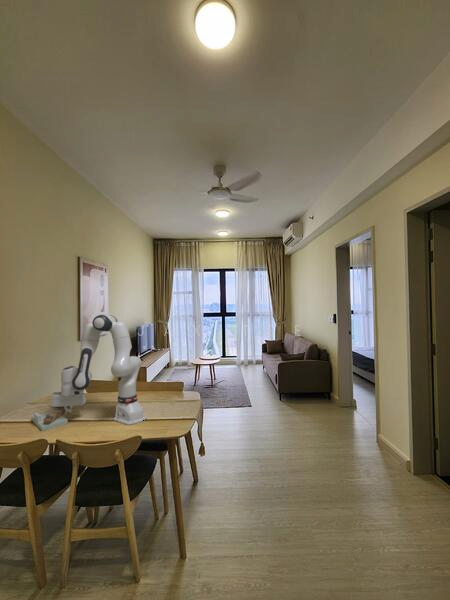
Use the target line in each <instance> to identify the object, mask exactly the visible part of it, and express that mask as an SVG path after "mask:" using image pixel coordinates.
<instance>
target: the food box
mask: <svg viewBox="0 0 450 600" xmlns="http://www.w3.org/2000/svg"><path fill="white" fill-rule="evenodd" d="M56 410H57V409H55V410H51V411H47V412H44V413H38V412H35V413H34V414H33V415H32V416H31V421H32V422H33V423H34V424H35V425H36V426H37V428H38V429H39V430H40V431H41V432H44V431H49V430H51V429H54V428H58V427H62V426H65V425H68V424H69V423H68V421H69V420H68V418H66V417H64V416H63V415H62V416H60V417H59V418H57V419H56V420H55V421H53V422H52V423H50V424H44V418H45V417H46V416H47V415H50V414H51V413H53V412H54V411H56Z"/></svg>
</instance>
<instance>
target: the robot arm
mask: <svg viewBox="0 0 450 600" xmlns="http://www.w3.org/2000/svg"><path fill="white" fill-rule="evenodd" d="M103 332H109V333H110V334H111V338H112V343H113V344H112V345H113V349H114V358H113V362H112V365H111V367H110V372H111V374H112V375H113V376H114V377H116V378H120V381H119V383H118V385H117V386H118V395H117V405H116V406H115V416H114V418H113V421H114V422H115V421H116V422H118V423H121V424H124V425H128V426H129V425H136V424H139V423H142V422H144V421H146V420H147V419H148V417H147V415H145V414H144V406H141V404H140V403H139V401H138V399H139V397H138V395H137V378H138V375H139V371H140V369H141V367H142V366H143V365H142V359H141V358H140V357H139V356H134V355H131V356H130V354H131V350H132V348H133V346H132V341H131V336H130V332H129V329H128V326H127V324H126V322H123V321H118V318H116V317H115V316H113V315H111V314H110V315H109V314H99V315H96V316H95V317H94V318H93V319H92V322H88V323H87V324H86V325H85V326H84V329H83V330H82V334H81V340H80V356H79V363H78V367H76V366H74V365H71V366H67V367H64V368H63V369H62V370H61V375H60V383H61V386H60V391H57V392H56V391H55V392H53V393H51V396H50V398H51V402H50V405H51V408H54V407H63V406H64V409H65V414H69V413H70V414H71V413H72V412H73V408H74V406H76V407H77V406H84V405H85V404H86V402H87V401H86V398H87V397H86V394H85V392H84V391H85V390H86V389H87V388H88V387H89V385H90V382H91V379H92V378H93V375H92V373H91V371H90V365H91V361H92V358H93V356H94V354H95V352H96V351H97V348H98V347H99V342H100V337H101V333H103ZM68 407H70V408H68ZM146 418H147V419H146ZM145 419H146V420H145ZM143 420H144V421H143Z"/></svg>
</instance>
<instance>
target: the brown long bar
mask: <svg viewBox="0 0 450 600" xmlns="http://www.w3.org/2000/svg"><path fill="white" fill-rule="evenodd" d="M55 410H56V411H55ZM55 410H53V411H54V412H53V413H51V414H50V415H47V416H46V417H45V418H44V424H50V423H52V422H53V421H55V420H56V419H57V418H59V417H60V416H63V415H64V414H66V410H65V409H64V408H59V409H57V408H56V409H55Z"/></svg>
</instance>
